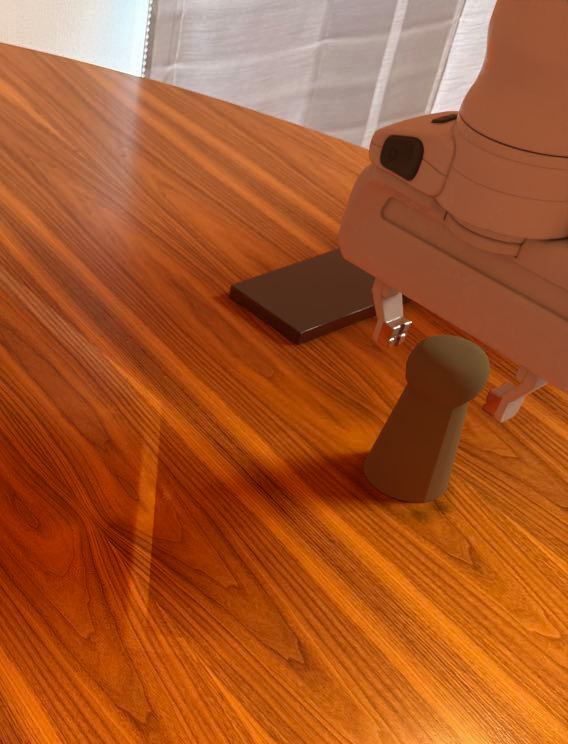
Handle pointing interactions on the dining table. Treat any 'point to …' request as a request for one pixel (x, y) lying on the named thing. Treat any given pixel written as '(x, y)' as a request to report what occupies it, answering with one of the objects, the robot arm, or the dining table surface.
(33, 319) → the dining table surface
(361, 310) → the slate strip
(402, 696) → the dining table surface
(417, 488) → the pepper mill
